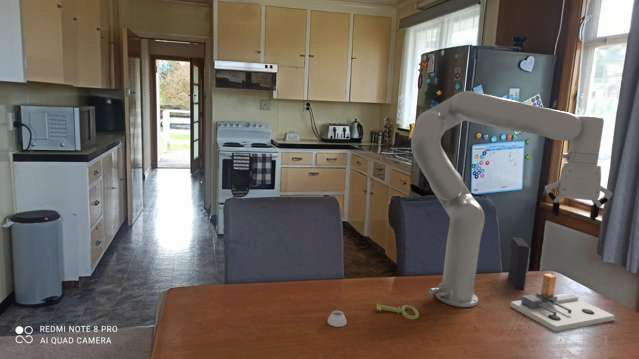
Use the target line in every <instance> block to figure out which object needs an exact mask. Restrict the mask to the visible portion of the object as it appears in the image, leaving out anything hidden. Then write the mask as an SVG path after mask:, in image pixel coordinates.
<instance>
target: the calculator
mask: <svg viewBox="0 0 639 359" xmlns="http://www.w3.org/2000/svg"><path fill="white" fill-rule="evenodd" d="M510 249H511V254H510V260H509V270H508V273H507V274H508V275H507V276H508V280H509V281H510V283H511V285H512V286H513V288H514V289H516V290H524V289H526V285H527V280H528V272H529V265H530V255H531V247H530V246H529V244H528V243H527V242H526V241H525V239H523V238H522V237H521V238H520V237H511V241H510Z"/></svg>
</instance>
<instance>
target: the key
mask: <svg viewBox="0 0 639 359" xmlns="http://www.w3.org/2000/svg"><path fill="white" fill-rule="evenodd" d="M375 308H376V311H380V312H381V311H388V312H393V313H397V314H402V316H403V317H404V318H406V319H408V320H417V319H419V316H420V314H419V311H418V310H417V309H416V308H415V306H412V305H409V304H405V305H403V306H402V308H401V307H400V306H397V307H394V306H388V305H383V304H378V303H377V304H376V305H375ZM407 309H408V310H412V311H413V312H414V315H410V314H408V313H407V311H405V310H407Z"/></svg>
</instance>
